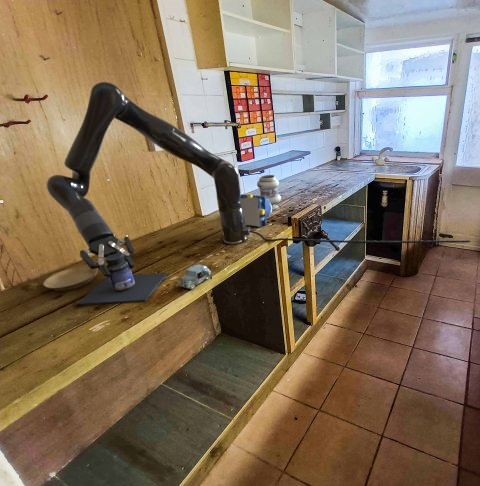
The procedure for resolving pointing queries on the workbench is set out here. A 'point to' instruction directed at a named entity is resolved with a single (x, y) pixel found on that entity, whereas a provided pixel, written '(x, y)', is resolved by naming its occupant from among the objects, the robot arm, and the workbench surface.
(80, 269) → the plant saucer
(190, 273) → the toy car
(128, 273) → the pill bottle
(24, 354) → the workbench surface
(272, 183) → the apothecary jar
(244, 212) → the valve
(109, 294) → the mat
